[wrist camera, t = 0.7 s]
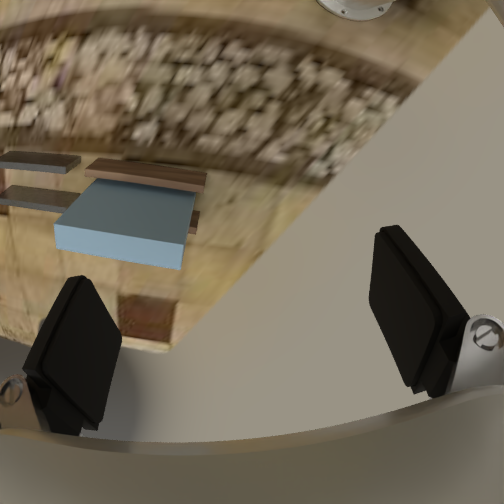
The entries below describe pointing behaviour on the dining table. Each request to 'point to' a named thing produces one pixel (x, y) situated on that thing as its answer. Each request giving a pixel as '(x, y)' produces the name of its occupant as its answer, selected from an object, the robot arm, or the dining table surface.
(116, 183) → the tall sheet
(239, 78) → the dining table surface
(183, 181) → the walnut rack
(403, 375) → the robot arm
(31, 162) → the grey rack
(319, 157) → the dining table surface
